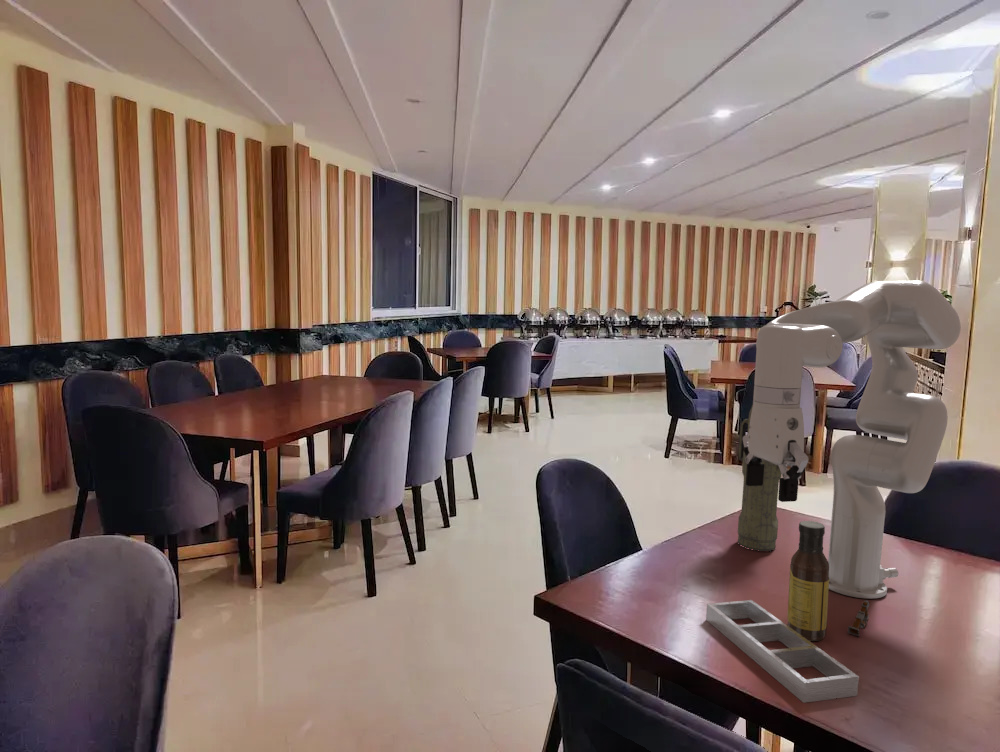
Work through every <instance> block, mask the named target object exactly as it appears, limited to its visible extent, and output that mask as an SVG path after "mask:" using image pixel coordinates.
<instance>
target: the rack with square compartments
mask: <svg viewBox="0 0 1000 752" xmlns="http://www.w3.org/2000/svg"><path fill="white" fill-rule="evenodd" d="M739 619H740V620H741V619H750V620H751V621H753V622H754V623H747V624H738V623H736V622H735V621H734V620H739ZM705 620H706V621H707V622H708V623H709V624H710V625H712V626H713V627H714V628H715V629H716V630H717V631H719V632H720V633H721V635H723V636H725V637H726V638H727V639H728V640H729V641H730V642H731V643H733V644H734V645H735V646H736V647H737V648H738V649H740V650H741V651H742V652H743V653H744V654H746V656H748V657H749V658H750V659H752V661H754V662H755V663H756V664H757V665H758V666H760V668H762V669H763V670H764V671H765V672H767V674H769V675H770V676H771V677H773V678H774V679H775V680H776V681H777V682H778V683H780V684H781V685H782V686H783V687H784V688H785V689H787V690H788V691H789V692H790V693H791V694H792V695H794V696H795V697H796V698H797V699H798V700H799V701H800V702H802V703H803V704H805V703H813V702H820V701H829V700H835V699H836V698H837V699H844V698H850V697H858V690H859V689H858V688H859V681H860V676H859V675H858V674H856V673H855V672H854V671H852V670H850V669H849V668H848V667H846V666H845V665H844V664H842V663H841V662H839V661H838V660H837V659H835V658H834V657H832V656H831V655H829V654H828V653H826V652H825V651H824V650H822V649H821V648H820V647H818V646H817V645H816V644H814V643H813V642H812V641H808V640H807V639H806V638H804V637H803V636H801V635H800V634H799V633H797V632H796V631H794V630H793V629H792V628H790V627H789V626H788V624H786V623H785V622H783V621H782V620H781V619H779V618H777V617H776V616H775V615H773V614H772V613H771V612H769V611H768V610H766V609H765V608H764V607H762V606H761V605H760V604H758V603H757V602H755V601H754V600H752V599H749V600H748V599H747V600H736V601H726V602H725V601H723V602H715V603H714V602H713V603H711V602H710V603H707V604H706V614H705ZM775 641H776V642H777V641H779V642H780V643H782V644H783V645H784V646H785V648H777V649H769V648H767V647H766V646H765V645H763V644H762V643H766V642H775ZM786 647H787V648H786ZM809 667H814V668H815V669H816V670H817V671H819V672H820V673H821V674H822V675H823V677H817V678H816V677H815V678H807V679H806V678H805V677H804V676H802V675H801V674H800V673H799V672H797V671H796V670H795V669H800V668H809Z"/></svg>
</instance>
